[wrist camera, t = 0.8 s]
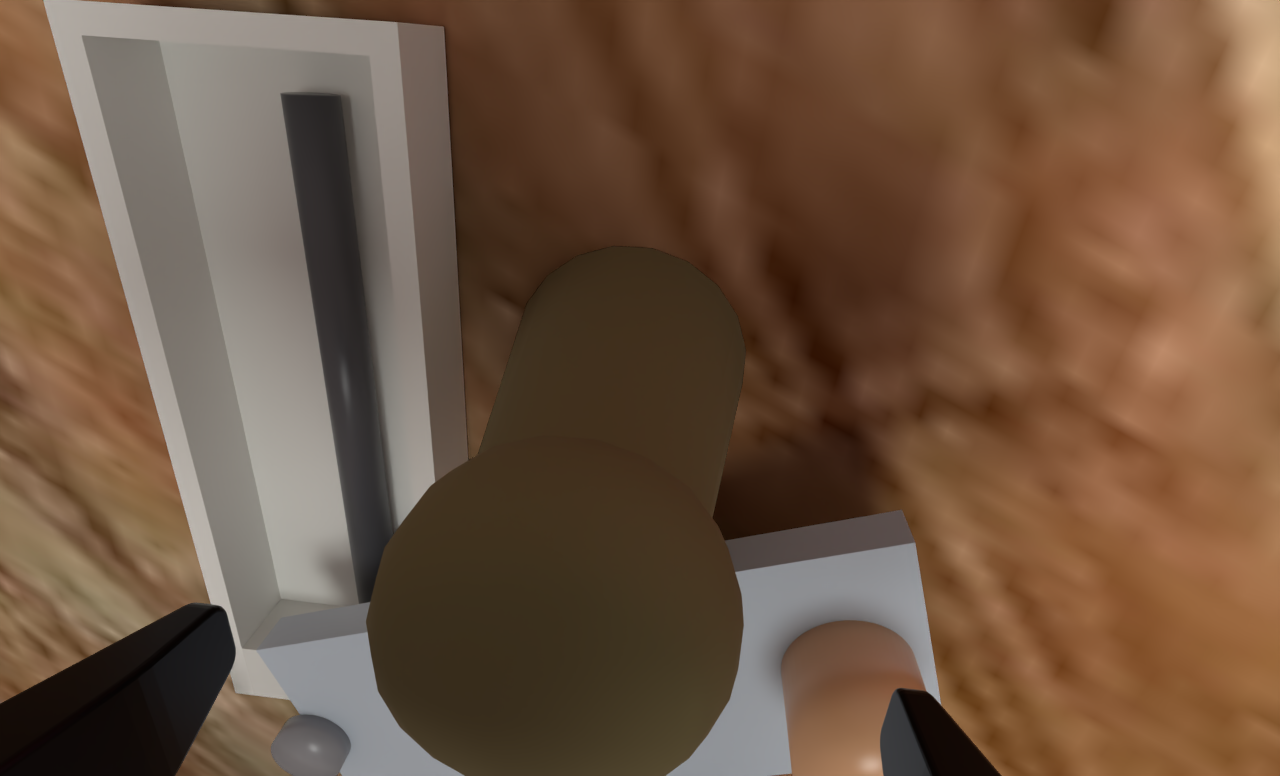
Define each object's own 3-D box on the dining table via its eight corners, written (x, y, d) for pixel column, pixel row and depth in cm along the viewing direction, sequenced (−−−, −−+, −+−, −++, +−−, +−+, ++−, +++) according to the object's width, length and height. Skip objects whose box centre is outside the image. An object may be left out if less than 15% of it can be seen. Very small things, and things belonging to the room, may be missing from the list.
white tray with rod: (479, 657, 24) (454, 720, 21) (280, 632, 24) (235, 692, 22) (443, 26, 15) (397, 22, 13) (139, 5, 16) (42, -2, 13)
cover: (359, 782, 23) (288, 928, 19) (251, 622, 20) (143, 756, 16) (936, 717, 19) (991, 882, 15) (901, 510, 16) (958, 649, 12)
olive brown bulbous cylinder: (505, 433, 20) (294, 819, 10) (530, 222, 17) (273, 461, 7) (715, 477, 20) (717, 910, 10) (773, 274, 17) (858, 585, 7)
